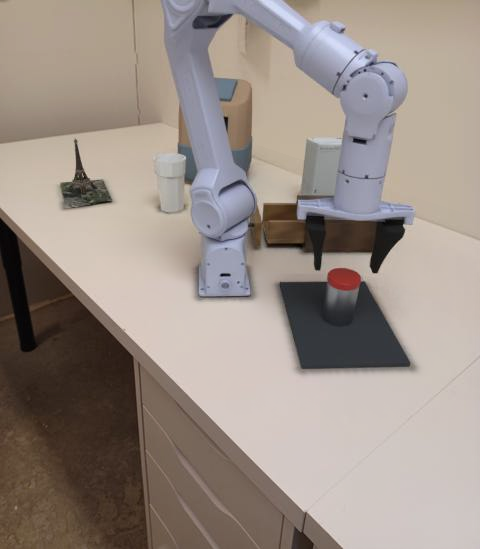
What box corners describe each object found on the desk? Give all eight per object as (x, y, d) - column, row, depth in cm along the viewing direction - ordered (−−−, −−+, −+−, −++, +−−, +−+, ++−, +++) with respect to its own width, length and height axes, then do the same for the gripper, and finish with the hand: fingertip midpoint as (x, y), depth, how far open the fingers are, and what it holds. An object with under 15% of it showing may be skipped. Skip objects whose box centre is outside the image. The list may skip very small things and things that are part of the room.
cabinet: (304, 252, 87) (308, 219, 83) (293, 225, 97) (296, 195, 93) (376, 252, 88) (383, 219, 84) (358, 225, 98) (364, 195, 94)
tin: (355, 327, 66) (363, 285, 63) (323, 325, 66) (329, 283, 63) (350, 309, 70) (358, 268, 67) (320, 307, 70) (326, 266, 67)
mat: (409, 366, 61) (410, 362, 60) (301, 368, 60) (302, 365, 59) (363, 284, 78) (364, 281, 77) (279, 284, 77) (279, 281, 76)
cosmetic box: (309, 213, 102) (317, 144, 95) (297, 203, 107) (304, 137, 100) (343, 210, 105) (354, 142, 97) (331, 200, 110) (340, 135, 102)
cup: (152, 212, 100) (149, 161, 95) (161, 200, 106) (158, 152, 100) (183, 215, 100) (181, 163, 94) (190, 203, 105) (189, 154, 100)
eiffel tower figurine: (113, 203, 104) (107, 141, 97) (65, 208, 100) (54, 145, 94) (102, 180, 116) (96, 125, 109) (59, 185, 112) (49, 127, 105)
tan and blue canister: (174, 185, 115) (170, 83, 103) (192, 164, 129) (190, 72, 117) (242, 191, 112) (246, 88, 101) (253, 170, 127) (257, 77, 115)
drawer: (231, 246, 86) (232, 222, 83) (228, 222, 95) (229, 200, 92) (321, 246, 87) (325, 222, 85) (310, 222, 96) (313, 200, 94)
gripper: (412, 164, 61) (391, 257, 68) (299, 158, 61) (290, 252, 68) (429, 182, 55) (404, 282, 62) (303, 176, 55) (293, 277, 62)
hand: (345, 268), depth 64 cm, fingers open, 7 cm apart
